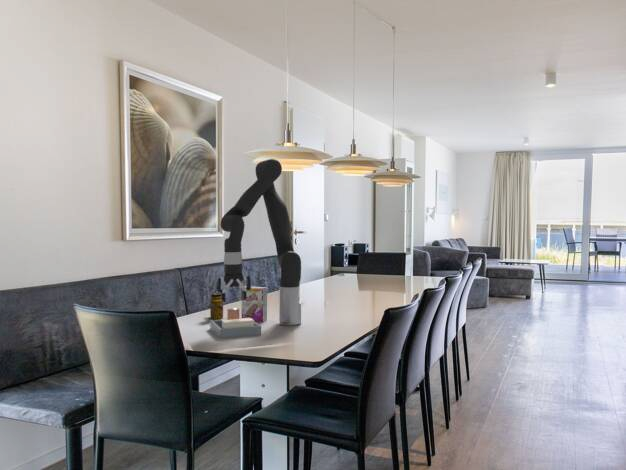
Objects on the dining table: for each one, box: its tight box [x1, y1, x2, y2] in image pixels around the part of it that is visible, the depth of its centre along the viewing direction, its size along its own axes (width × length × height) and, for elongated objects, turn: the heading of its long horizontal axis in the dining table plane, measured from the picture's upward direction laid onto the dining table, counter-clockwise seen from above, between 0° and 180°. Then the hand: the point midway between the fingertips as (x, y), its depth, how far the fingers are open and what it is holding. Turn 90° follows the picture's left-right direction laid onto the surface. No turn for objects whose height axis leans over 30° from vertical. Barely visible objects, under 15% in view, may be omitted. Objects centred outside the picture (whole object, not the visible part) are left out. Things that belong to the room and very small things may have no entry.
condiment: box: [204, 292, 227, 321], centre depth 244 cm, size 7×8×12 cm
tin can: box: [226, 307, 240, 320], centre depth 216 cm, size 5×5×9 cm
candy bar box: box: [241, 285, 268, 323], centre depth 236 cm, size 11×5×16 cm, turn 70°
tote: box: [209, 317, 262, 340], centre depth 213 cm, size 17×18×4 cm
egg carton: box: [222, 318, 254, 329], centre depth 209 cm, size 12×5×6 cm, turn 113°
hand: (234, 300), depth 215 cm, fingers open, 8 cm apart
